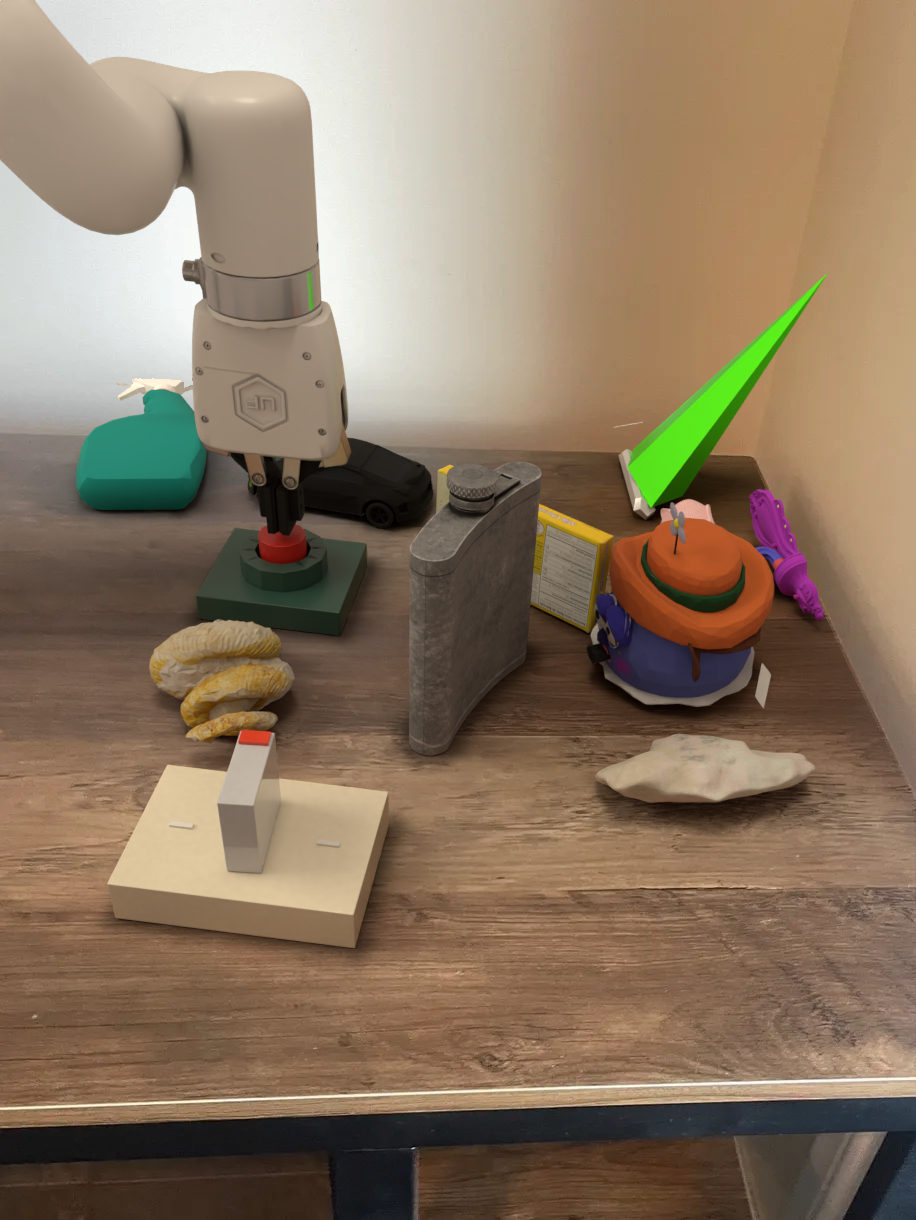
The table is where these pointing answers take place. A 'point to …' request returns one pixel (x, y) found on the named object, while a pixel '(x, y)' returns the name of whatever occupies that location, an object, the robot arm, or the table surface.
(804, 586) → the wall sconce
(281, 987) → the table surface
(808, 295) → the paper cone
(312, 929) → the block
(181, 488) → the spray bottle
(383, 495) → the toy car
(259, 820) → the tap handle
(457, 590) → the flask
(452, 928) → the table surface
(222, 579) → the button box
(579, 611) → the candy box
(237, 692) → the cream yellow lumpy piece
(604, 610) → the toy
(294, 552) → the button
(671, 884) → the table surface
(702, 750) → the stone tool
